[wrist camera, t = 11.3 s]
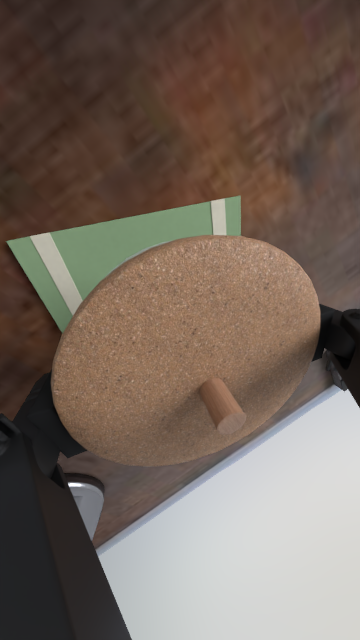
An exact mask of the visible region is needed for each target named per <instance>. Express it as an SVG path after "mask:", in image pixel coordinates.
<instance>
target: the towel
mask: <svg viewBox="0 0 360 640" xmlns="http://www.w3.org/2000/svg"><path fill="white" fill-rule="evenodd" d="M201 235H228V236H241V208H240V196H236V197H230V198H225V199H220V200H214V201H210V202H205V203H200V204H194V205H189V206H184V207H179V208H174V209H169V210H164V211H158V212H153V213H148V214H143V215H138V216H133V217H128V218H122V219H117V220H112V221H107V222H102V223H97V224H92V225H86V226H81V227H76V228H71V229H66V230H61V231H56V232H50V233H45V234H39V235H34V236H30V237H25V238H20V239H14V240H9V241H6V242H7V244H8V245H9V247H10V249H11V250H12V252H13V253H14V255H15V257H16V258H17V260H18V262H19V263H20V265H21V267H22V268H23V270H24V271H25V273H26V275H27V276H28V278H29V280H30V281H31V283H32V285H33V286H34V288H35V289H36V291H37V293H38V294H39V296H40V298H41V299H42V301H43V303H44V304H45V306H46V307H47V309H48V311H49V312H50V314H51V316H52V317H53V319H54V321H55V322H56V324H57V325H58V327H59V329H60V330H61V332H62V334H63V332H64V330H65V329H66V327H67V325H68V324H69V322H70V320H71V319H72V317H73V315H74V314H75V312H76V310H77V308H78V307H79V305H80V304H81V302H82V301H83V300H84V299H85V298H86V297H87V296H88V295H89V293H90V292H91V291H92V290H93V289H94V288H95V287H96V286H97V284H98V283H99V282H100V281H101V280H102V279H104V278H105V277H106V275H107V274H108V273H109V272H110V271H111V270H112V269H114V268H115V267H116V266H117V265H119V264H120V263H121V262H123V261H124V260H125V259H126V258H128V257H130V256H132V255H134V254H135V253H137V252H139V251H141V250H143V249H145V248H148V247H151V246H154V245H157V244H159V243H162V242H167V241H173V240H176V239H181V238H188V237H195V236H201Z"/></svg>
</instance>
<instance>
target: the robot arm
mask: <svg viewBox="0 0 360 640" xmlns="http://www.w3.org/2000/svg"><path fill="white" fill-rule="evenodd" d="M319 307H320V312H321V314H320V333H319V340H318V344H317V347H316V350H315V353H314V357H313V359H312V361H315V360H317V359H320V358H322V355H323V351H324V348H325V349H327V350H329V351H331V352H330V356H329V359H328V362H327V366H326V370H327V371H330V367H331V365H334V369H333V371H338V373H339V375H340V376H341V378H342V380H343V381H344V383H345V385H346V386H347V388H348V389H349V391H350V393H351V394H352V396H353V397H354V399H355V400H356V403H357V404H358V406H359V407H360V309H349V310H346V311H344V312H341V311H338V310H335V309H333V308H330V307H327V306H324V305H321V304H319ZM312 361H311V362H312ZM51 376H52V370H51V372H50V373H47V374H44V375H43V376H42V377H41V378H40V379H39V380H38V381H37V382H36V383H35V385H34V386H33V388H32V390H31V391H30V394H29V395H28V396H27V398H26V400H25V402H24V403H23V405H22V406H21V408H20V410H19V411H18V413H17V415H16V416H15V418H14V420H13V421H12V422H11V421H10V420H9V419H8V418H7V417H6V416H4V415H3V414H0V640H132V639H131V637H130V634H129V632H128V629H127V627H126V624H125V622H124V620H123V617H122V615H121V612H120V610H119V607H118V605H117V602H116V600H115V597H114V595H113V593H112V590H111V588H110V585H109V583H108V580H107V578H106V575H105V573H104V570H103V568H102V566H101V563H100V561H99V558H98V556H97V553H96V551H95V548H94V546H93V543H92V539H93V536H94V533H95V529H96V526H97V523H98V521H99V519H100V515H101V512H102V511H101V510H102V507H103V502H104V486H103V484H102V483H101V482H100V481H99V480H98V479H96V478H94V477H91V476H87V475H81V474H64V472H63V470H62V467H61V466H60V465H59V464H58V463H57V460H58V456H59V453H60V451H61V452H62V453H63V454H64V455H65V456H66V457H67V458H69V457H72V456H74V455H77V454H79V453H82V452H84V451H87V449H85V448H84V447H83V446H82V445H80V444H79V443H78V442H77V441H76V440H74V439H73V438H72V436H71V435H70V434H69V432H68V431H67V429H66V428H65V426H64V425H63V423H62V422H61V420H60V418H59V416H58V413H57V411H56V408H55V406H54V403H53V396H52V389H51Z"/></svg>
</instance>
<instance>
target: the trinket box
mask: <svg viewBox="0 0 360 640" xmlns="http://www.w3.org/2000/svg"><path fill="white" fill-rule="evenodd" d="M320 314H321V312H320V307H319V302H318V298H317V295H316V292H315V290H314V287H313V284H312V282H311V280H310V278H309V277H308V276H307V274H306V273H305V272H304V270H303V269H302V268H301V266H300V265H299V264H298V263H297V262H296V261H295V260H294V259H292V258H291V257H290V256H289V255H288V254H286V253H285V252H284V251H282V250H280V249H278V248H276V247H274V246H272V245H270V244H268V243H266V242H263V241H259V240H255V239H251V238H247V237H243V236H228V235H201V236H195V237H188V238H181V239H176V240H173V241H167V242H162V243H159V244H157V245H154V246H151V247H148V248H145V249H143V250H141V251H139V252H137V253H135V254H134V255H132V256H130V257H128V258H126V259H125V260H124V261H123V262H121V263H120V264H119V265H117V266H116V267H115V268H114V269H112V270H111V271H110V272H109V273H108V274H107V275H106V277H105V278H104V279H102V280H101V281H100V282H99V283H98V284H97V286H96V287H95V288H94V289H93V290H92V291H91V292H90V293H89V295H88V296H87V297H86V298H85V299H84V300H83V301H82V302H81V304H80V305H79V307H78V308H77V310H76V312H75V314H74V315H73V317H72V319H71V320H70V322H69V324H68V325H67V327H66V329H65V330H64V332H63V334H62V336H61V339H60V342H59V344H58V347H57V350H56V353H55V356H54V359H53V366H52V376H51V389H52V396H53V403H54V406H55V408H56V411H57V413H58V416H59V418H60V420H61V422H62V423H63V425H64V426H65V428H66V429H67V431H68V432H69V434H70V435H71V436H72V438H73V439H74V440H76V441H77V442H78V443H79V444H80V445H82V446H83V447H84V448H85V449H87V450H89V451H90V452H92V453H94V454H95V455H97V456H99V457H101V458H104V459H107V460H110V461H113V462H117V463H121V464H126V465H132V466H164V465H171V464H178V463H182V462H187V461H191V460H194V459H197V458H200V457H203V456H206V455H209V454H212V453H214V452H217V451H219V450H221V449H223V448H225V447H227V446H229V445H231V444H233V443H235V442H236V441H238V440H240V439H242V438H243V437H245V436H247V435H248V434H250V433H251V432H252V431H254V430H255V429H256V428H258V427H259V426H260V425H262V424H263V423H264V422H265V421H266V420H268V419H269V418H270V417H271V416H272V415H273V414H274V413H275V412H276V411H277V410H278V409H279V408H280V407H281V406H282V405H283V404H284V403H285V402H286V401H287V400H288V398H289V397H290V396H291V395H292V393H293V392H294V391H295V389H296V388H297V386H298V385H299V384H300V382H301V380H302V379H303V377H304V375H305V374H306V372H307V370H308V368H309V366H310V363H311V361H312V359H313V357H314V353H315V350H316V347H317V344H318V340H319V333H320Z"/></svg>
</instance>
